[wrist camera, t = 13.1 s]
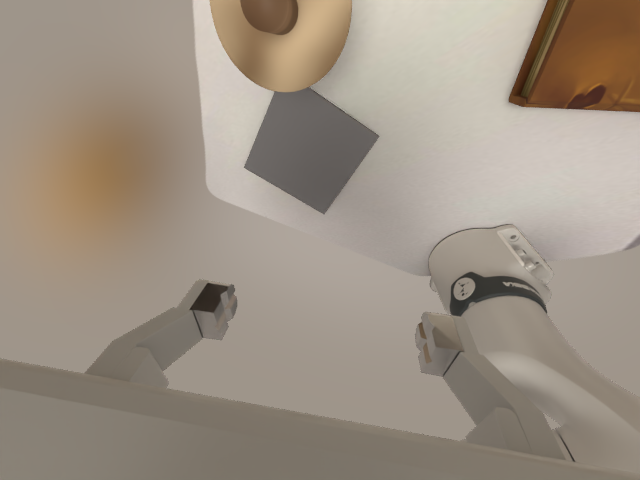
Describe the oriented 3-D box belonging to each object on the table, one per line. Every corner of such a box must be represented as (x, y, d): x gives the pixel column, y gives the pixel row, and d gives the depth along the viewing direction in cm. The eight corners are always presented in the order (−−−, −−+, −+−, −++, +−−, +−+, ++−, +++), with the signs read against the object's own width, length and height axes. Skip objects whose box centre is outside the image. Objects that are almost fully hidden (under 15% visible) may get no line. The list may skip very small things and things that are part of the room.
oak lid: (381, -30, 18) (386, -52, 15) (310, 115, 25) (300, 127, 21) (239, -146, 16) (200, -207, 12) (199, 45, 23) (166, 43, 19)
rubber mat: (378, 135, 39) (379, 136, 38) (324, 212, 48) (324, 214, 47) (284, 70, 36) (283, 71, 35) (245, 166, 45) (243, 167, 44)
